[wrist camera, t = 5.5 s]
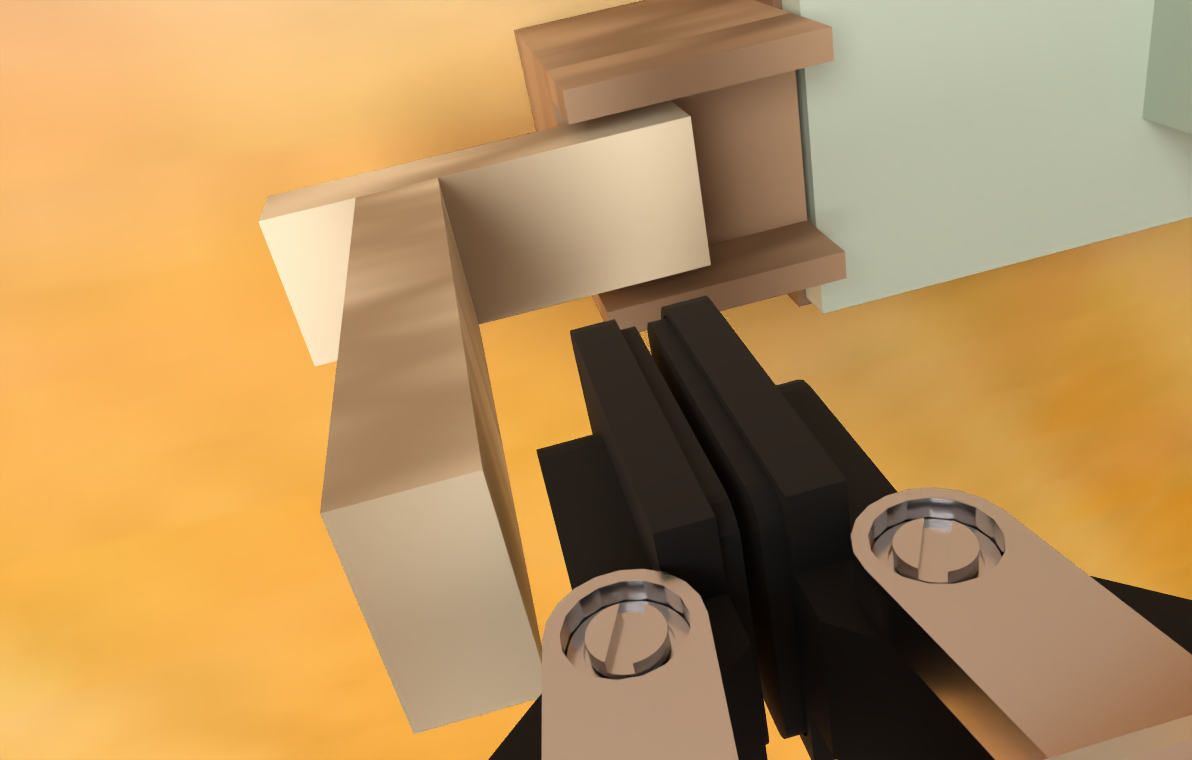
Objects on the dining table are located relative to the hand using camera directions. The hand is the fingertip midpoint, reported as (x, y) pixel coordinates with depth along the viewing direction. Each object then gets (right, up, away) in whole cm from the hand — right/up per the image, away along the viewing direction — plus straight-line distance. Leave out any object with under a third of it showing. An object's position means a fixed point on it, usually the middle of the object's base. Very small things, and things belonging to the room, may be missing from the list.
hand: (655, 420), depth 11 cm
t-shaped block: (-3, +4, +8) cm, 9 cm away
